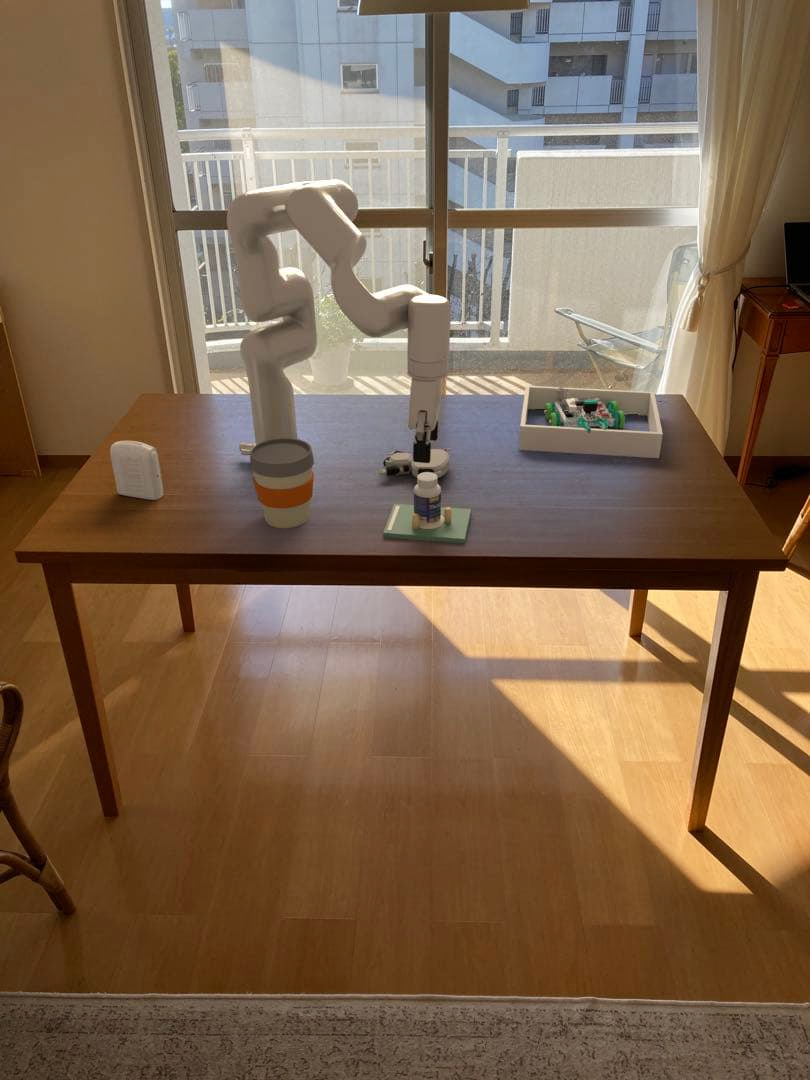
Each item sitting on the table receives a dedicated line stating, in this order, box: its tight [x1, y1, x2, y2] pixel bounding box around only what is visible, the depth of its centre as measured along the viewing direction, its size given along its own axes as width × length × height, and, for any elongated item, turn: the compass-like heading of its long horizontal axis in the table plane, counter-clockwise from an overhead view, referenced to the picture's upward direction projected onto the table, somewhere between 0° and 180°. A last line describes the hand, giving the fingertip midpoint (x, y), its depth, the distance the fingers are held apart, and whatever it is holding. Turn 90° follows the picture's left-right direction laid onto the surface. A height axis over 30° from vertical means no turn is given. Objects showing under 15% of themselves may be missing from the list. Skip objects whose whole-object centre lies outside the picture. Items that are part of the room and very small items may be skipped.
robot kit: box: [543, 386, 626, 433], centre depth 211 cm, size 19×25×9 cm
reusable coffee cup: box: [249, 438, 315, 529], centre depth 175 cm, size 13×13×15 cm
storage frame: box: [518, 385, 664, 459], centre depth 212 cm, size 32×26×6 cm
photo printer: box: [109, 440, 164, 501], centre depth 185 cm, size 10×4×12 cm, turn 73°
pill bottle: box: [413, 472, 442, 526], centre depth 172 cm, size 5×5×10 cm
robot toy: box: [378, 447, 452, 479], centre depth 194 cm, size 12×4×15 cm
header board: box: [382, 503, 472, 544], centre depth 174 cm, size 16×12×4 cm
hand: (425, 450), depth 167 cm, fingers open, 9 cm apart
